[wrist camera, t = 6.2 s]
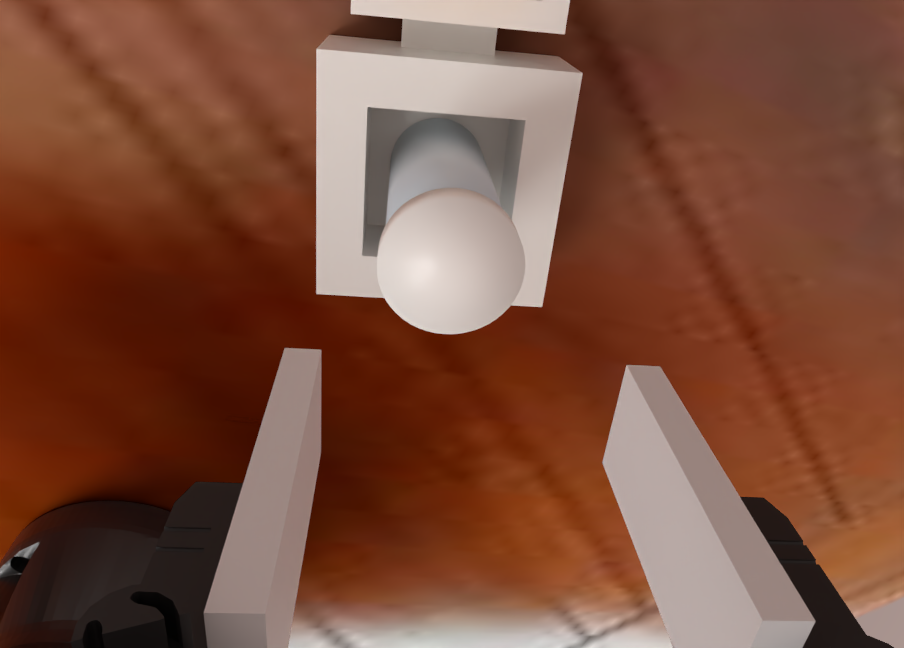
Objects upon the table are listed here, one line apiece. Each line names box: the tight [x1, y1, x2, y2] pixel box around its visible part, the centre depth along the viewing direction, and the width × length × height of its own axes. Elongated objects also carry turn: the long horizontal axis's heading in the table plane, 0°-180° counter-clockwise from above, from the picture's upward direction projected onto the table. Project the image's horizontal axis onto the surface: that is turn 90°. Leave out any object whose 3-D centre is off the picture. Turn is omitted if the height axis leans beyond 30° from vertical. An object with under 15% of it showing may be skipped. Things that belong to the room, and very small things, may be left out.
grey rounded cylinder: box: [377, 118, 525, 334], centre depth 28 cm, size 5×5×12 cm
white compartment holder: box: [316, 0, 583, 307], centre depth 28 cm, size 20×10×7 cm, turn 175°
